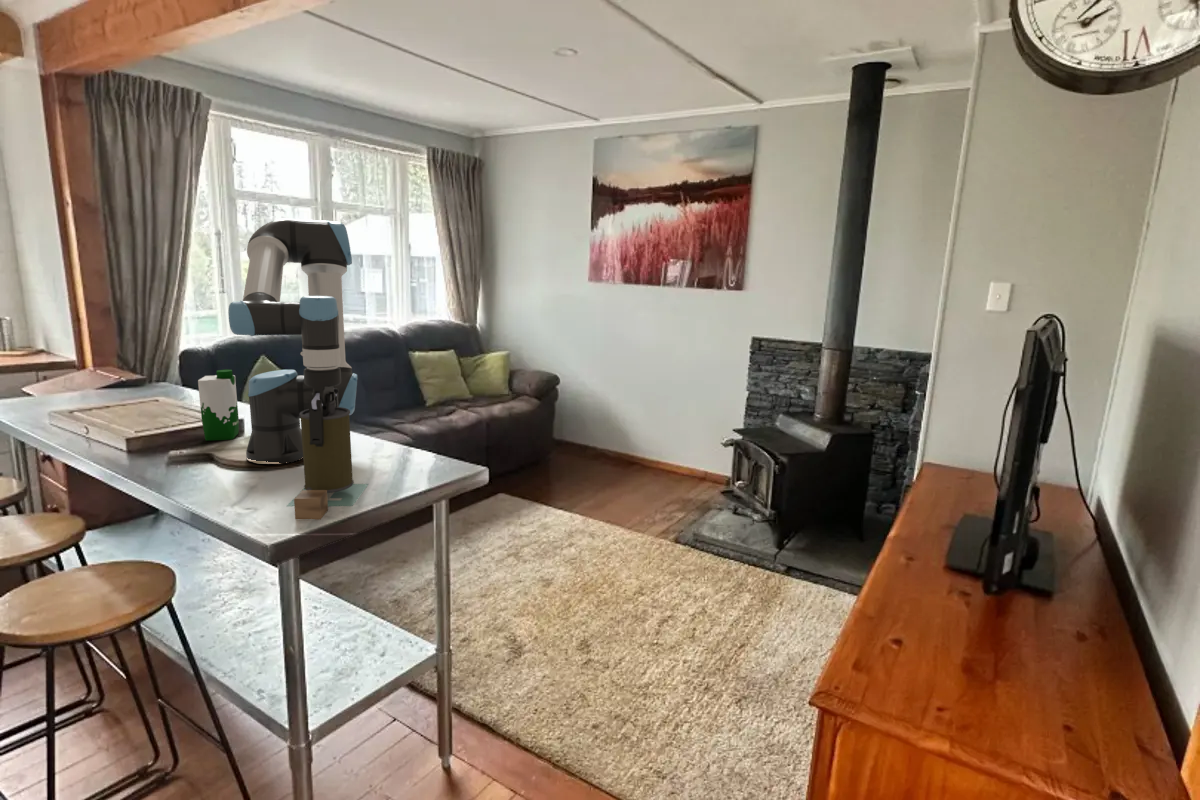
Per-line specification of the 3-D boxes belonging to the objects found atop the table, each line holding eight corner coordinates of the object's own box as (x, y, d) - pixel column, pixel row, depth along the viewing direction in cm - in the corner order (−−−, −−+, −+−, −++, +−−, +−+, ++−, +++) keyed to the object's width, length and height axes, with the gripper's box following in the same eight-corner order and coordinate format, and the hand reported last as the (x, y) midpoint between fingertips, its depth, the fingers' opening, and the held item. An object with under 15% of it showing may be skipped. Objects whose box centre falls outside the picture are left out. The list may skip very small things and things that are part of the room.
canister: (362, 485, 144) (358, 401, 140) (316, 497, 136) (311, 407, 132) (339, 474, 151) (335, 393, 147) (295, 484, 143) (289, 399, 139)
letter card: (308, 485, 150) (308, 483, 150) (368, 485, 152) (368, 483, 152) (286, 507, 136) (286, 506, 136) (352, 507, 138) (352, 505, 138)
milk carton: (235, 440, 183) (229, 373, 178) (200, 441, 180) (193, 373, 176) (242, 432, 191) (237, 367, 187) (209, 433, 188) (202, 368, 184)
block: (304, 511, 135) (302, 490, 134) (328, 511, 135) (326, 490, 134) (295, 521, 130) (293, 498, 129) (320, 521, 131) (319, 498, 129)
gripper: (318, 360, 146) (324, 454, 151) (287, 374, 128) (295, 481, 133) (351, 360, 147) (356, 454, 152) (326, 375, 129) (332, 481, 134)
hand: (327, 466), depth 142 cm, fingers open, 6 cm apart
